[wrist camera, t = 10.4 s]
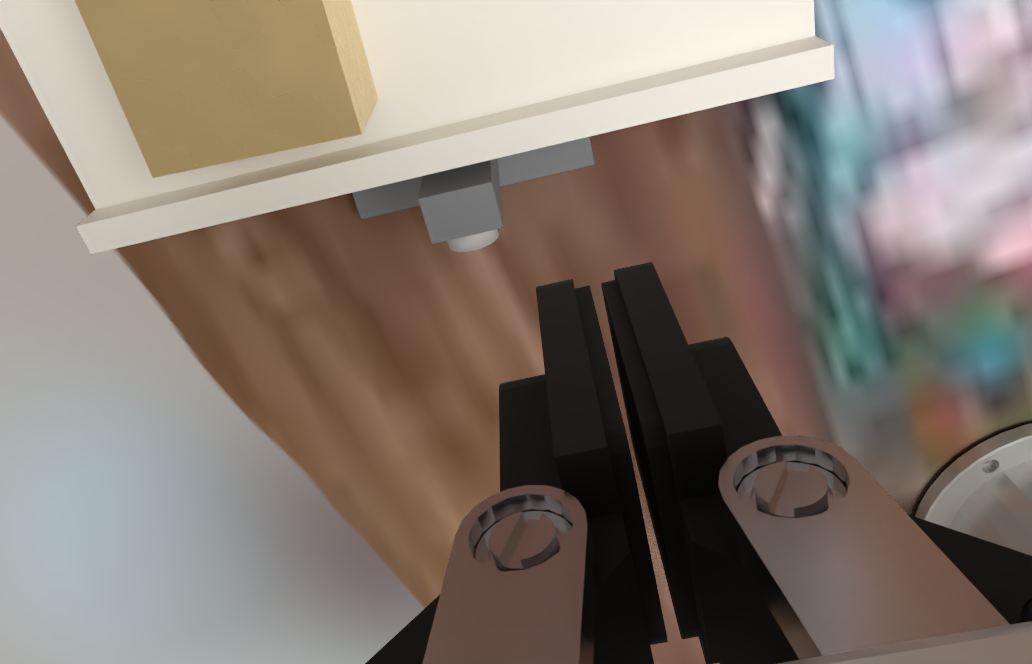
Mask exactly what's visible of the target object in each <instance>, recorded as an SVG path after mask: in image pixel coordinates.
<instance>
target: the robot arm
mask: <svg viewBox="0 0 1032 664" xmlns="http://www.w3.org/2000/svg"><path fill="white" fill-rule="evenodd" d="M614 276H615V280H614V281H609V282H604V283H601V284H602V291H603V296H604V301H605V306H606V311H607V316H608V322H609V327H610V332H611V337H612V342H613V347H614V352H615V357H616V363H617V368H618V373H619V378H620V383H621V388H622V393H623V398H624V404H625V409H626V414H627V419H628V424H629V429H630V434H631V439H632V444H633V448H634V453H635V457H636V461H637V465H638V469H639V473H640V477H641V481H642V485H643V489H644V492H645V496H646V500H647V504H648V508H649V512H650V516H651V520H652V524H653V528H654V532H655V536H656V540H657V544H658V548H659V552H660V555H661V559H662V563H663V567H664V571H665V575H666V579H667V583H668V587H669V591H670V595H671V599H672V603H673V607H674V611H675V615H676V618H677V622H678V626H679V630H680V634H681V637H682V639H686V638H692V637H697V636H699V640H700V643H701V647H702V650H703V654H704V658H705V661H706V664H713V663H720V664H1032V424H1027V425H1023V426H1020V427H1017V428H1014V429H1011V430H1008V431H1006V432H1003V433H1000V434H998V435H996V436H994V437H992V438H990V439H988V440H986V441H984V442H982V443H980V444H978V445H977V446H975V447H974V448H972V449H971V450H969V451H968V452H966V453H965V454H963V455H962V456H960V457H959V458H958V459H957V460H956V461H954V462H953V463H952V464H951V465H950V466H949V467H948V468H946V469H945V470H944V471H943V472H942V473H941V474H940V476H939V477H938V478H937V479H936V480H935V482H934V483H933V484H932V485H931V486H930V488H929V489H928V491H927V492H926V494H925V496H924V497H923V499H922V501H921V502H920V504H919V506H918V509H917V512H916V515H915V517H914V516H911V515H908V514H907V513H906V512H905V511H904V510H903V509H902V508H901V507H900V506H899V505H898V504H897V503H896V502H895V501H894V500H893V498H892V497H891V496H890V495H889V494H888V493H887V492H886V491H885V490H884V489H883V488H882V487H881V486H880V485H879V483H878V482H877V481H876V480H875V479H874V478H873V477H872V476H871V475H870V474H869V473H868V472H867V471H866V470H865V469H864V467H863V466H862V465H861V464H860V463H859V462H858V461H857V460H856V459H855V458H854V457H852V456H851V455H850V454H848V453H847V452H846V451H845V450H843V449H842V448H840V447H838V446H835V445H833V444H831V443H828V442H826V441H824V440H820V439H815V438H810V437H804V436H782V434H781V432H780V431H779V429H778V427H777V425H776V423H775V421H774V419H773V418H772V416H771V414H770V412H769V410H768V408H767V406H766V404H765V403H764V401H763V399H762V397H761V395H760V393H759V391H758V390H757V388H756V386H755V384H754V382H753V380H752V378H751V377H750V375H749V373H748V371H747V369H746V367H745V365H744V363H743V362H742V360H741V358H740V356H739V354H738V352H737V350H736V349H735V347H734V345H733V343H732V342H731V340H730V339H729V338H728V337H723V338H719V339H714V340H709V341H704V342H699V343H694V344H690V345H688V344H687V341H686V339H685V337H684V334H683V332H682V330H681V328H680V325H679V323H678V321H677V318H676V316H675V314H674V311H673V309H672V307H671V305H670V302H669V300H668V298H667V295H666V293H665V291H664V288H663V286H662V284H661V282H660V279H659V277H658V275H657V272H656V270H655V268H654V265H653V264H652V262H649V263H645V264H640V265H636V266H631V267H626V268H622V269H617V270H614ZM536 293H537V302H538V312H539V321H540V330H541V339H542V348H543V357H544V367H545V375H540V376H535V377H530V378H525V379H520V380H516V381H511V382H506V383H501V384H500V386H499V419H500V492H499V493H497V494H495V495H492V496H490V497H488V498H487V499H486V500H484V501H483V502H481V503H480V504H478V505H477V506H475V507H474V508H473V509H472V510H471V511H470V513H469V514H468V515H467V516H466V517H465V518H464V519H463V521H462V522H461V524H460V527H459V529H458V531H457V533H456V535H455V539H454V543H453V547H452V551H451V555H450V558H449V562H448V566H447V570H446V574H445V578H444V582H443V586H442V590H441V593H440V595H439V596H438V597H437V598H436V599H435V600H434V601H433V602H432V603H430V604H429V605H428V606H427V607H426V608H425V609H424V610H423V611H422V612H421V613H420V614H419V615H418V616H416V617H415V618H414V619H413V620H412V621H411V622H410V623H409V624H408V625H407V626H406V627H404V628H403V629H402V630H401V631H400V632H399V633H398V634H397V635H396V636H395V637H394V638H393V639H391V640H390V641H389V642H388V643H387V644H386V645H385V646H384V647H383V648H382V649H381V650H380V651H378V652H377V653H376V654H375V655H374V656H373V657H372V658H371V659H370V660H369V661H368V662H367V663H365V664H654V662H653V657H652V652H651V647H650V645H652V644H658V643H663V642H668V641H667V635H666V630H665V625H664V620H663V615H662V610H661V605H660V600H659V595H658V590H657V584H656V579H655V574H654V569H653V564H652V559H651V554H650V549H649V544H648V539H647V534H646V529H645V524H644V519H643V514H642V509H641V503H640V498H639V493H638V488H637V483H636V478H635V473H634V468H633V463H632V458H631V454H630V449H629V444H628V440H627V436H626V431H625V427H624V423H623V419H622V415H621V411H620V407H619V403H618V399H617V395H616V391H615V387H614V383H613V379H612V375H611V371H610V367H609V362H608V358H607V354H606V350H605V346H604V342H603V338H602V334H601V330H600V326H599V322H598V318H597V314H596V310H595V306H594V302H593V298H592V294H591V290H590V286H586V287H581V288H576V289H575V288H574V283H573V279H571V280H566V281H562V282H557V283H552V284H548V285H543V286H539V287H536Z"/></svg>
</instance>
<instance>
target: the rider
mask: <svg viewBox="0 0 1032 664" xmlns="http://www.w3.org/2000/svg"><path fill="white" fill-rule="evenodd" d="M75 3H76V5H77V7H78V9H79V12H80V14H81V16H82V18H83V21H84V23H85V25H86V28H87V30H88V32H89V34H90V37H91V39H92V41H93V43H94V46H95V48H96V50H97V52H98V55H99V57H100V59H101V62H102V64H103V66H104V68H105V71H106V73H107V75H108V77H109V80H110V82H111V84H112V87H113V89H114V91H115V93H116V96H117V98H118V100H119V102H120V105H121V107H122V109H123V111H124V114H125V116H126V118H127V121H128V123H129V125H130V127H131V130H132V132H133V134H134V136H135V139H136V141H137V143H138V146H139V148H140V150H141V152H142V155H143V157H144V159H145V161H146V164H147V166H148V168H149V170H150V173H151V175H152V177H153V178H155V177H160V176H165V175H170V174H175V173H179V172H184V171H189V170H194V169H199V168H203V167H208V166H213V165H218V164H222V163H227V162H232V161H237V160H242V159H246V158H251V157H256V156H261V155H266V154H270V153H275V152H280V151H285V150H290V149H294V148H299V147H304V146H309V145H314V144H318V143H323V142H328V141H333V140H338V139H342V138H347V137H352V136H357V135H362V133H363V131H364V129H365V127H366V125H367V122H368V120H369V118H370V116H371V114H372V112H373V110H374V108H375V105H376V103H377V101H378V96H377V93H376V89H375V86H374V82H373V78H372V75H371V71H370V68H369V64H368V61H367V57H366V53H365V50H364V46H363V43H362V39H361V36H360V32H359V28H358V25H357V21H356V18H355V14H354V11H353V7H352V3H351V0H75Z"/></svg>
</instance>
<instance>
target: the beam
mask: <svg viewBox="0 0 1032 664" xmlns="http://www.w3.org/2000/svg"><path fill="white" fill-rule="evenodd" d="M351 3H352V7H353V11H354V14H355V18H356V21H357V25H358V28H359V32H360V36H361V39H362V43H363V46H364V50H365V53H366V57H367V61H368V64H369V68H370V71H371V75H372V78H373V82H374V86H375V89H376V93H377V96H378V101H377V103H376V105H375V108H374V110H373V112H372V114H371V116H370V118H369V120H368V122H367V125H366V127H365V129H364V131H363V133H362V135H357V136H352V137H347V138H342V139H338V140H333V141H328V142H323V143H318V144H314V145H309V146H304V147H299V148H294V149H290V150H285V151H280V152H275V153H270V154H266V155H261V156H256V157H251V158H246V159H242V160H237V161H232V162H227V163H222V164H218V165H213V166H208V167H203V168H199V169H194V170H189V171H184V172H179V173H175V174H170V175H165V176H160V177H155V178H153V177H152V175H151V173H150V170H149V168H148V166H147V164H146V161H145V159H144V157H143V155H142V152H141V150H140V148H139V146H138V143H137V141H136V139H135V136H134V134H133V132H132V130H131V127H130V125H129V123H128V121H127V118H126V116H125V114H124V111H123V109H122V107H121V105H120V102H119V100H118V98H117V96H116V93H115V91H114V89H113V87H112V84H111V82H110V80H109V77H108V75H107V73H106V71H105V68H104V66H103V64H102V62H101V59H100V57H99V55H98V52H97V50H96V48H95V46H94V43H93V41H92V39H91V37H90V34H89V32H88V30H87V28H86V25H85V23H84V21H83V18H82V16H81V14H80V12H79V9H78V7H77V5H76V3H75V0H0V28H1V30H2V32H3V34H4V36H5V38H6V39H7V41H8V43H9V45H10V47H11V49H12V51H13V53H14V55H15V57H16V59H17V60H18V62H19V64H20V66H21V68H22V70H23V72H24V74H25V76H26V78H27V80H28V81H29V83H30V85H31V87H32V89H33V91H34V93H35V95H36V97H37V99H38V101H39V102H40V104H41V106H42V108H43V110H44V112H45V114H46V116H47V118H48V120H49V122H50V123H51V125H52V127H53V129H54V131H55V133H56V135H57V137H58V139H59V141H60V143H61V144H62V146H63V148H64V150H65V152H66V154H67V156H68V158H69V160H70V162H71V164H72V166H73V167H74V169H75V171H76V173H77V175H78V177H79V179H80V181H81V183H82V185H83V187H84V188H85V190H86V192H87V194H88V196H89V198H90V200H91V202H92V204H93V206H94V208H95V210H94V211H93V212H92V213H91V214H90V215H88V216H87V217H86V218H85V219H84V220H83V221H81V222H80V223H79V224H78V225H77V226H76V228H77V230H78V232H79V233H80V235H81V237H82V239H83V241H84V243H85V244H86V246H87V248H88V250H89V252H90V254H94V253H98V252H103V251H107V250H112V249H116V248H120V247H124V246H128V245H133V244H137V243H141V242H145V241H150V240H154V239H158V238H162V237H167V236H171V235H175V234H179V233H183V232H188V231H192V230H196V229H200V228H205V227H209V226H213V225H217V224H222V223H226V222H230V221H234V220H238V219H243V218H247V217H251V216H255V215H260V214H264V213H268V212H272V211H277V210H281V209H285V208H289V207H293V206H298V205H302V204H306V203H310V202H315V201H319V200H323V199H327V198H331V197H336V196H340V195H344V194H348V193H353V192H357V191H361V190H365V189H370V188H374V187H378V186H382V185H386V184H391V183H395V182H399V181H403V180H408V179H412V178H416V177H420V176H425V175H429V174H433V173H437V172H441V171H446V170H450V169H454V168H458V167H463V166H467V165H471V164H475V163H480V162H484V161H488V160H492V159H496V158H501V157H505V156H509V155H513V154H518V153H522V152H526V151H530V150H535V149H539V148H543V147H547V146H551V145H556V144H560V143H564V142H568V141H573V140H577V139H581V138H585V137H590V136H594V135H598V134H602V133H606V132H611V131H615V130H619V129H623V128H628V127H632V126H636V125H640V124H644V123H649V122H653V121H657V120H661V119H666V118H670V117H674V116H678V115H683V114H687V113H691V112H695V111H699V110H704V109H708V108H712V107H716V106H721V105H725V104H729V103H733V102H738V101H742V100H746V99H750V98H754V97H759V96H763V95H767V94H771V93H776V92H780V91H784V90H788V89H793V88H797V87H801V86H805V85H809V84H814V83H818V82H822V81H826V80H831V79H834V45H833V44H831V43H829V42H827V41H825V40H822V39H820V38H818V37H816V36H815V22H814V0H351Z"/></svg>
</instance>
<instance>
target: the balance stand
mask: <svg viewBox="0 0 1032 664" xmlns="http://www.w3.org/2000/svg"><path fill="white" fill-rule="evenodd" d="M590 165H595V164H594V159H593V153H592V148H591V143H590V137H585V138H581V139H577V140H573V141H568V142H564V143H560V144H556V145H551V146H547V147H543V148H539V149H535V150H530V151H526V152H522V153H518V154H513V155H509V156H505V157H501V158H496V159H492V160H488V161H484V162H480V163H475V164H471V165H467V166H463V167H458V168H454V169H450V170H446V171H441V172H437V173H433V174H429V175H425V176H420V177H416V178H412V179H408V180H403V181H399V182H395V183H391V184H386V185H382V186H378V187H374V188H370V189H365V190H361V191H357V192H353V193H352V194H353V197H354V200H355V203H356V206H357V209H358V212H359V215H360V217H361V219H365V218H370V217H374V216H378V215H382V214H387V213H391V212H395V211H399V210H404V209H408V208H412V207H416V206H420V207H421V210H422V213H423V217H424V220H425V223H426V226H427V230H428V233H429V236H430V239H431V243H432V244H436V243H440V242H444V241H447V243H448V246H449V249H450V250H452V251H455V252H469V251H474V250H478V249H481V248H484V247H486V246H488V245H490V244H492V243H493V242H494V241H495V240H496V239H497V238H498V236H499V233H498V229H500V228H503V218H502V205H501V192H500V187H501V186H506V185H510V184H514V183H518V182H523V181H527V180H531V179H535V178H539V177H544V176H548V175H552V174H556V173H561V172H565V171H569V170H573V169H578V168H582V167H586V166H590Z"/></svg>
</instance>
